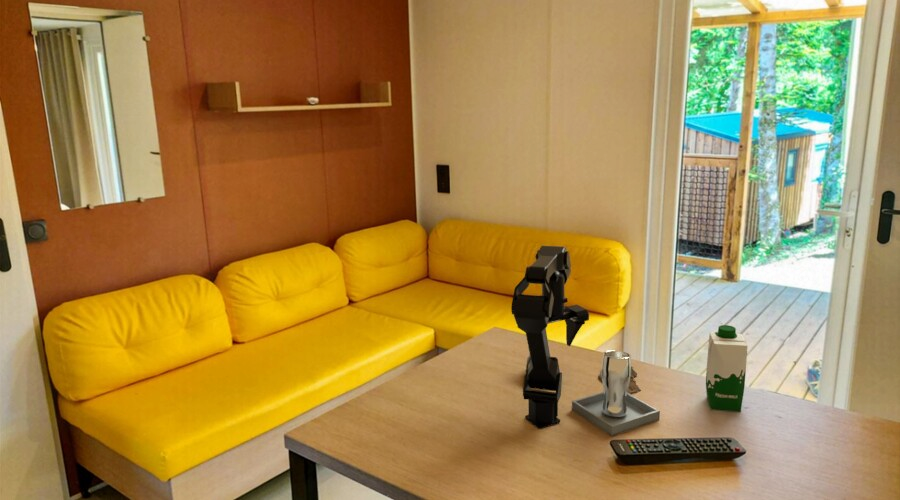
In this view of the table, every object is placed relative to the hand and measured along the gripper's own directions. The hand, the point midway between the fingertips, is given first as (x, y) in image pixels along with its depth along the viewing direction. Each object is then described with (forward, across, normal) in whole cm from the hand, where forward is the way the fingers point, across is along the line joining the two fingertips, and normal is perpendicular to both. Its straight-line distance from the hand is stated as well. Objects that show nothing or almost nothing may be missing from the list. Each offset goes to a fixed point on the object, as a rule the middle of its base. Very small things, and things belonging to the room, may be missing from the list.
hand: (553, 349), depth 166 cm
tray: (+13, -7, +16) cm, 22 cm away
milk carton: (+14, -35, +25) cm, 45 cm away
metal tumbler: (+12, -7, +16) cm, 22 cm away
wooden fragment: (+15, -22, -2) cm, 27 cm away
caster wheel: (+14, -2, -10) cm, 17 cm away
